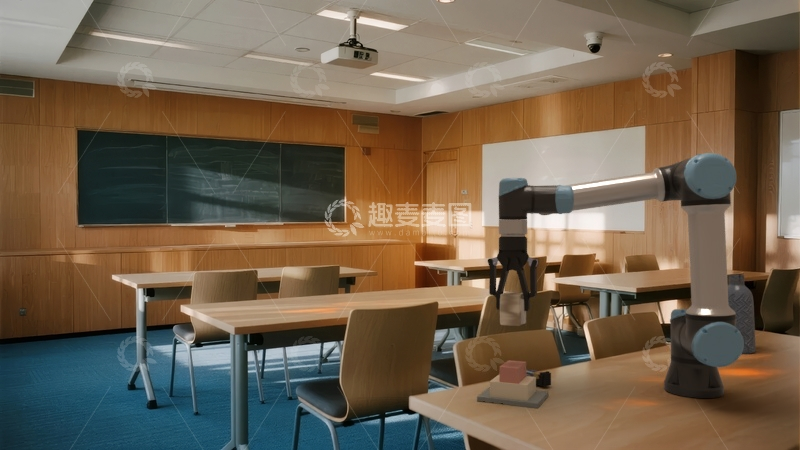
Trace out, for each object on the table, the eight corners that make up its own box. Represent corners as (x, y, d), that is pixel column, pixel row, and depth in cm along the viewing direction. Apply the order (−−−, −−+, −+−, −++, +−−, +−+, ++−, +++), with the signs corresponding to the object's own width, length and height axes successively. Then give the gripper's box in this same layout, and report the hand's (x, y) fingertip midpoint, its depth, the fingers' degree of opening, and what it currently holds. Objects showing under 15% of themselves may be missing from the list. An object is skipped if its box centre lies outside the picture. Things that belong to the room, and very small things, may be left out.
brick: (525, 322, 172) (525, 292, 172) (519, 326, 166) (518, 295, 166) (507, 321, 174) (507, 292, 174) (500, 324, 168) (500, 294, 168)
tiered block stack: (548, 396, 172) (548, 362, 172) (537, 408, 160) (537, 372, 160) (491, 389, 179) (491, 357, 179) (477, 401, 167) (477, 366, 167)
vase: (762, 354, 229) (762, 276, 229) (728, 354, 229) (728, 276, 229) (744, 348, 241) (744, 273, 241) (712, 348, 241) (712, 273, 241)
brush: (516, 362, 194) (555, 371, 182) (516, 377, 194) (555, 387, 182) (503, 364, 191) (541, 374, 179) (503, 379, 191) (541, 390, 179)
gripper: (549, 235, 170) (549, 322, 169) (484, 235, 177) (484, 318, 177) (543, 236, 163) (543, 326, 163) (476, 235, 170) (476, 322, 170)
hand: (512, 322), depth 170 cm, fingers closed on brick, 5 cm apart
